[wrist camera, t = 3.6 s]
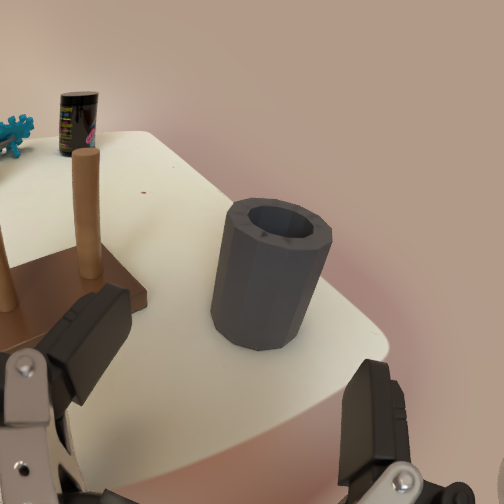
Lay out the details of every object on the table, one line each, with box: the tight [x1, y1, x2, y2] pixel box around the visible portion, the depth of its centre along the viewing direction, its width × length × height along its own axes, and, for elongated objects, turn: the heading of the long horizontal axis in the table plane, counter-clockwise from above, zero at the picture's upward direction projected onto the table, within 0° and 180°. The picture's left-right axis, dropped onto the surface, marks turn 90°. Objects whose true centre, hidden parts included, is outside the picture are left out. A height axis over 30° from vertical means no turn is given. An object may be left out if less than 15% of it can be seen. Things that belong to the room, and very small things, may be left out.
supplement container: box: [59, 92, 99, 157], centre depth 45 cm, size 7×7×10 cm
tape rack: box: [0, 148, 147, 354], centre depth 17 cm, size 12×8×10 cm, turn 138°
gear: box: [0, 114, 34, 158], centre depth 41 cm, size 11×6×10 cm
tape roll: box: [211, 198, 332, 351], centre depth 22 cm, size 6×6×8 cm
